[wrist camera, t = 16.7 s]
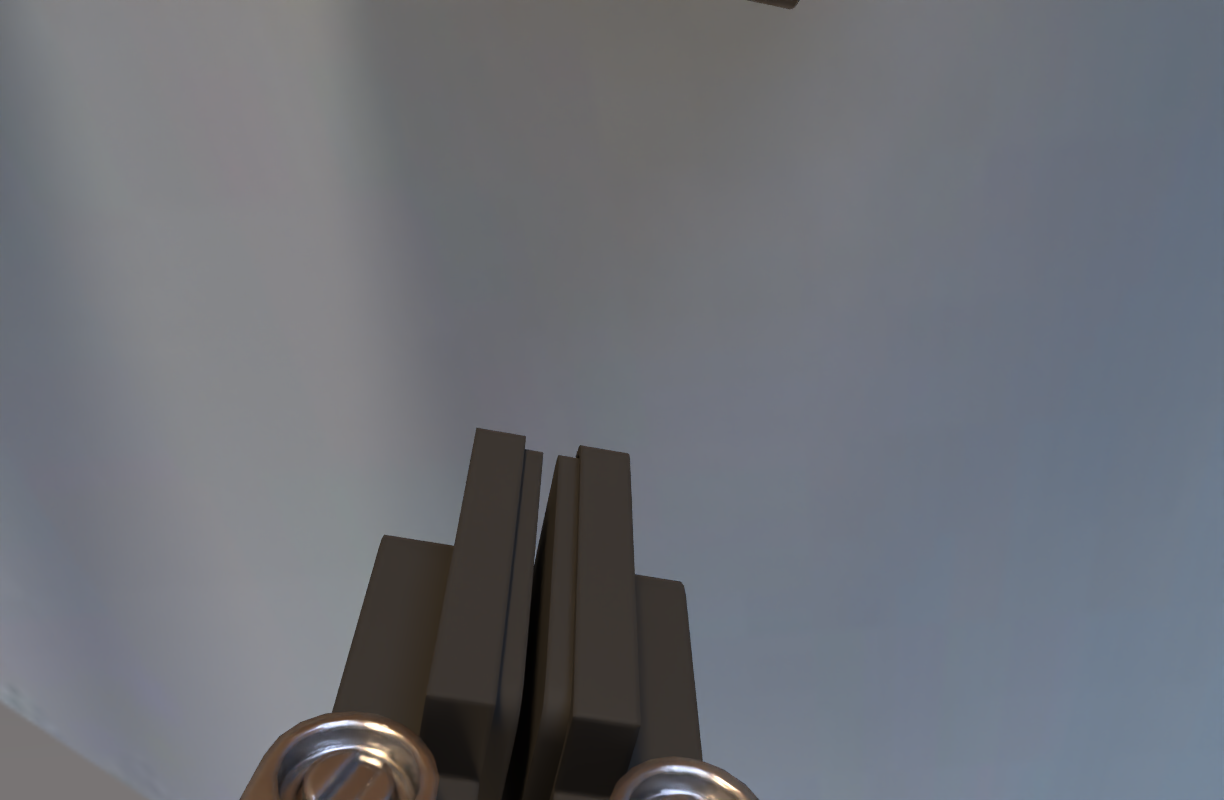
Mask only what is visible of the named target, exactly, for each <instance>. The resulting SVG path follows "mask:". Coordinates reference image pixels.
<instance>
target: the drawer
mask: <svg viewBox="0 0 1224 800" xmlns="http://www.w3.org/2000/svg"><path fill="white" fill-rule="evenodd" d="M749 1H753V2H758V3H763V4H767V5H772V6H777V7H781V8H786V9H793V8H794V7H795V6H796V5H797V4H798V2H799V0H749Z"/></svg>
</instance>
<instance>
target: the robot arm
mask: <svg viewBox="0 0 1224 800" xmlns="http://www.w3.org/2000/svg"><path fill="white" fill-rule="evenodd" d="M525 440H526V436H522V435H516V434H510V433H505V432H499V431H493V430H487V429H481V428H476V433H475V439H474V444H473V449H472V454H471V460H470V465H469V470H468V476H467V481H466V486H465V491H464V497H463V502H462V507H461V513H460V518H459V523H458V529H457V534H456V539H455V544H454V546H452V545H446V544H439V543H433V542H427V541H420V540H414V539H408V538H401V537H395V536H389V535H384V536H383V537H382V540H381V543H380V546H379V549H378V553H377V556H376V560H375V563H374V567H373V570H372V574H371V577H370V581H369V584H368V588H367V591H366V595H365V598H364V602H363V605H362V609H361V612H360V616H359V620H358V623H357V627H356V630H355V634H354V637H353V641H352V644H351V648H350V651H349V655H348V658H347V662H346V665H345V669H344V672H343V676H342V679H341V683H340V686H339V690H338V693H337V697H336V700H335V704H334V707H333V711H332V713H327V714H323V715H320V716H317V717H314V718H311V719H308V720H305V721H303V722H300V723H299V724H297V725H296V726H294V727H293V728H291V729H290V730H288V731H287V732H285V733H284V734H282V735H281V736H279V737H278V739H277V740H276V741H275V742H274V744H273V745H272V746H271V747H270V748H269V750H268V751H267V752H266V753H265V755H264V756H263V758H262V760H261V762H260V763H259V765H258V767H257V769H256V771H255V772H254V774H253V776H252V778H251V780H250V781H249V783H248V785H247V787H246V789H245V791H244V792H243V794H242V796H241V798H240V800H759V799H758V798H757V797H756V796H755V795H754V793H753V792H752V791H751V790H750V789H749V788H748V787H747V786H746V785H745V784H744V783H743V782H741V781H740V780H738V779H737V778H735V777H734V776H732V775H731V774H729V773H728V772H726V771H725V770H723V769H721V768H718V767H716V766H713V765H711V764H708V763H706V762H703V760H702V750H701V740H700V730H699V720H698V711H697V701H696V691H695V681H694V671H693V662H692V652H691V642H690V632H689V622H688V613H687V603H686V594H685V589H684V585H683V584H682V583H681V582H679V581H673V580H667V579H660V578H654V577H648V576H642V575H635V569H634V545H633V521H632V497H631V472H630V456H629V454H628V453H622V452H616V451H611V450H605V449H599V448H593V447H587V446H581V445H580V446H579V448H578V451H577V455H576V458H573V457H567V456H561V455H558V458H557V461H556V465H555V470H554V474H553V479H552V484H551V489H550V493H549V498H548V503H547V507H546V512H545V517H544V521H543V526H542V531H541V535H540V540H539V545H538V549H537V554H536V559H535V563H534V556H535V545H536V533H537V521H538V509H539V497H540V485H541V474H542V462H543V452H538V451H532V450H526V449H525Z"/></svg>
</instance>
